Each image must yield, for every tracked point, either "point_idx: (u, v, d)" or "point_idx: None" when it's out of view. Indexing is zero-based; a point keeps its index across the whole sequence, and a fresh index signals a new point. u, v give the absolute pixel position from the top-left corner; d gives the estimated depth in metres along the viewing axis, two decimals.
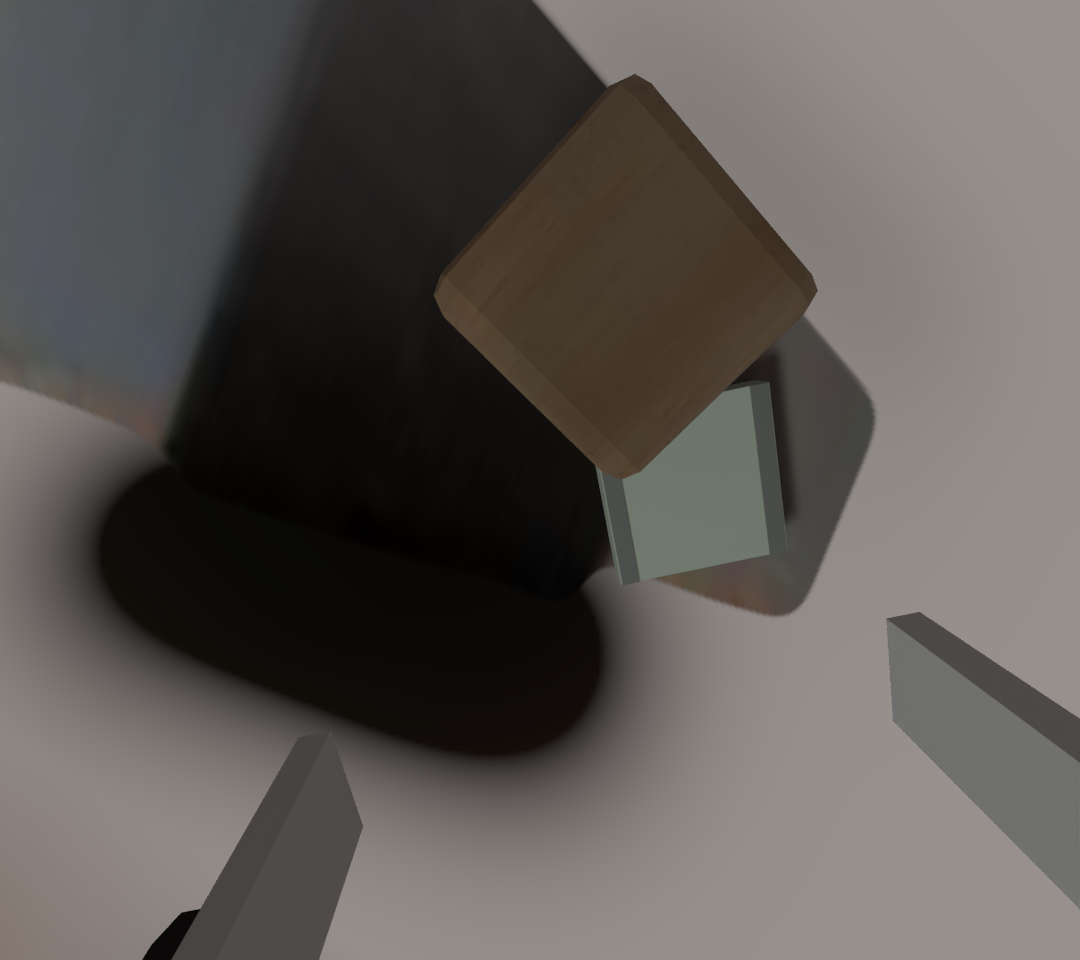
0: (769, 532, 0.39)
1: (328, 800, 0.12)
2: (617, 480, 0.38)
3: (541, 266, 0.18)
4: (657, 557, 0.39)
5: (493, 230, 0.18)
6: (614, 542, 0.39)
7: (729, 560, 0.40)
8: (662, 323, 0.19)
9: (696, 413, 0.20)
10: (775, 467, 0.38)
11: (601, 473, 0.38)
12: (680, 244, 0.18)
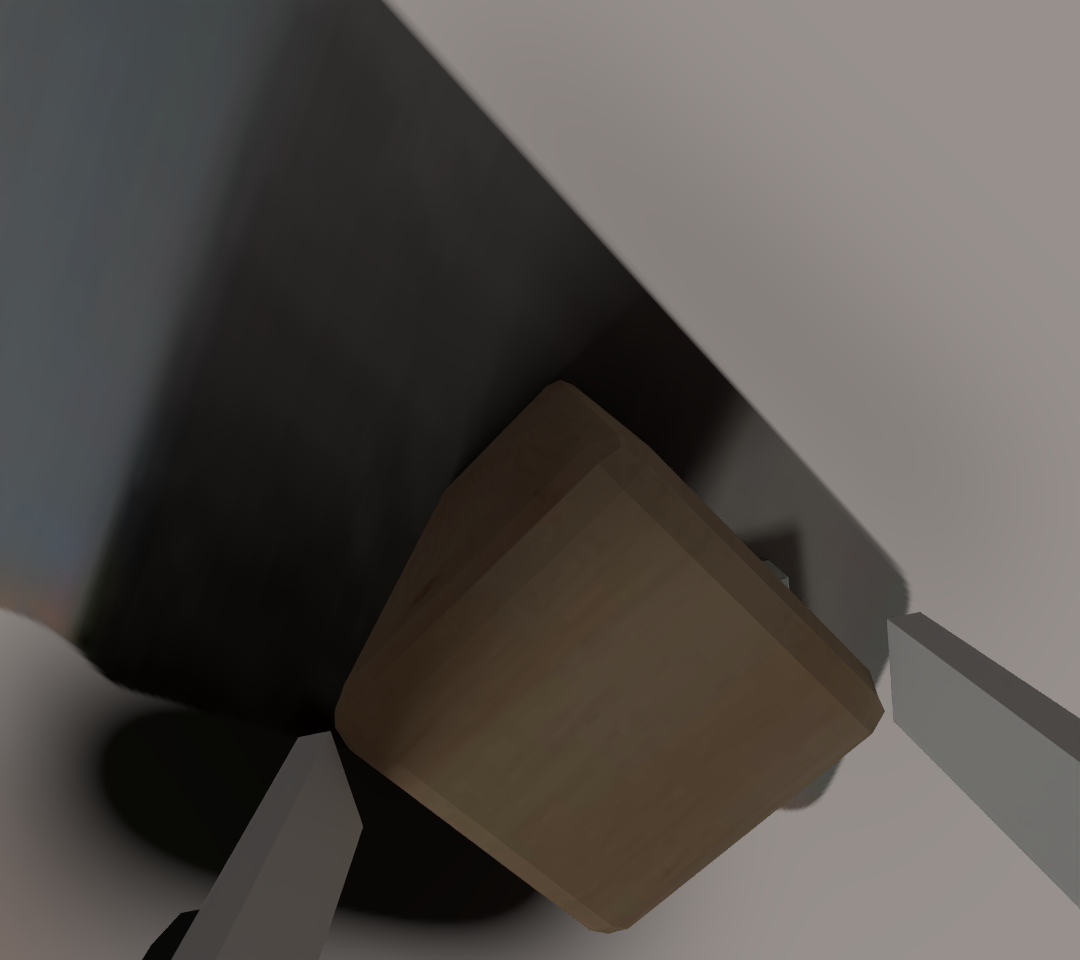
0: None
1: (328, 800, 0.12)
2: None
3: (485, 705, 0.12)
4: None
5: (414, 654, 0.12)
6: None
7: None
8: (661, 769, 0.13)
9: (709, 862, 0.14)
10: None
11: None
12: (688, 673, 0.12)
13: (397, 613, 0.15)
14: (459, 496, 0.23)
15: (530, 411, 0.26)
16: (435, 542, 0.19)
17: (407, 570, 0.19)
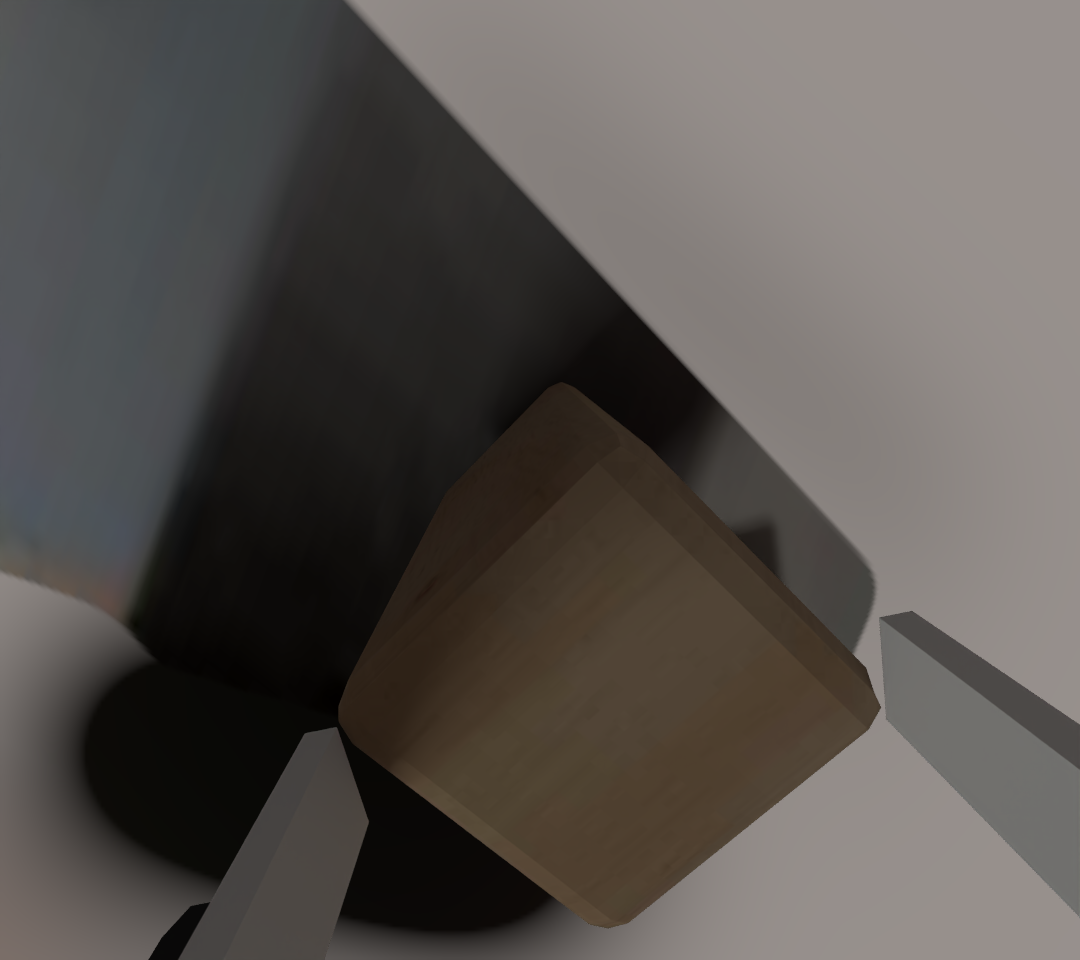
0: None
1: (334, 795, 0.12)
2: None
3: (487, 700, 0.13)
4: None
5: (417, 650, 0.13)
6: None
7: None
8: (661, 764, 0.13)
9: (708, 857, 0.14)
10: None
11: None
12: (687, 669, 0.13)
13: (400, 610, 0.15)
14: (461, 497, 0.24)
15: (531, 413, 0.27)
16: (437, 541, 0.19)
17: (409, 569, 0.19)
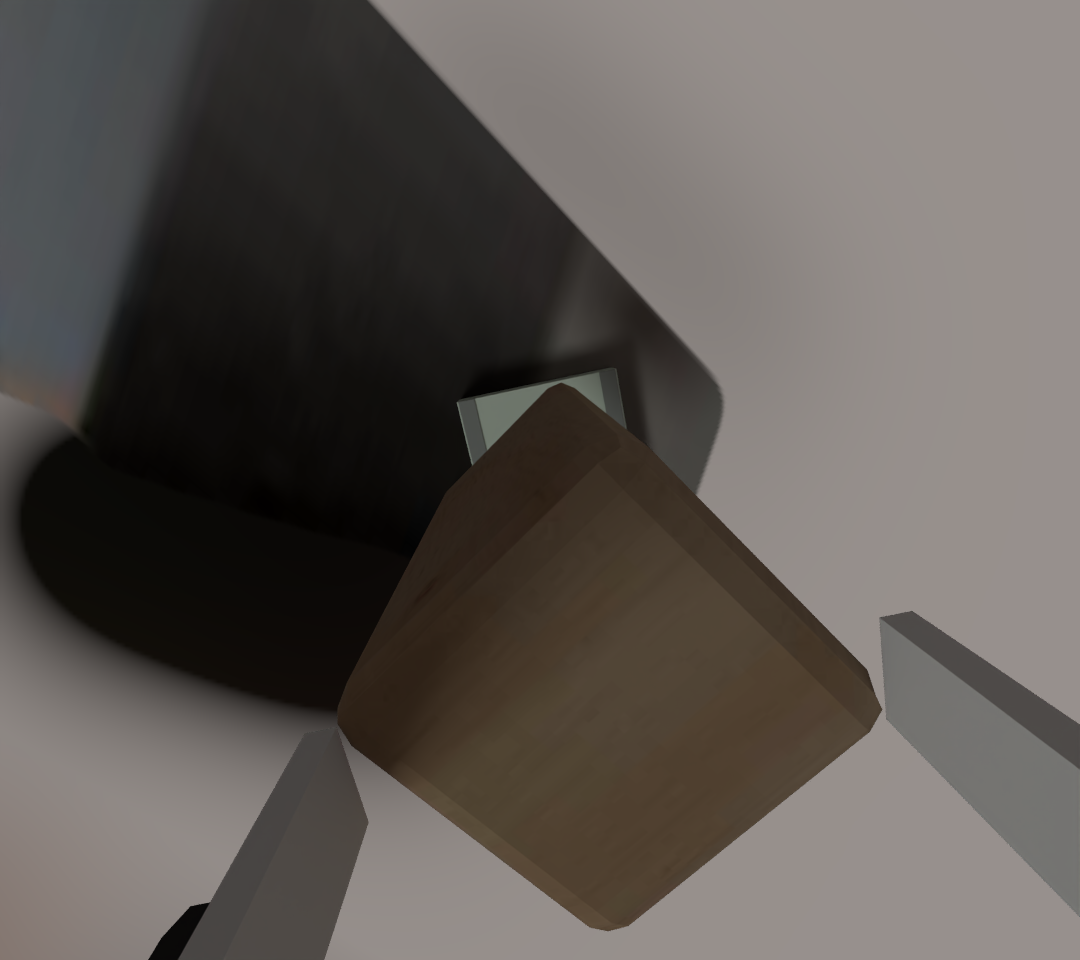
0: None
1: (334, 795, 0.12)
2: None
3: (486, 702, 0.13)
4: None
5: (416, 652, 0.12)
6: None
7: None
8: (661, 766, 0.13)
9: (708, 859, 0.14)
10: None
11: (469, 450, 0.42)
12: (687, 671, 0.13)
13: (399, 612, 0.15)
14: (460, 497, 0.24)
15: (531, 413, 0.27)
16: (437, 542, 0.19)
17: (409, 570, 0.19)
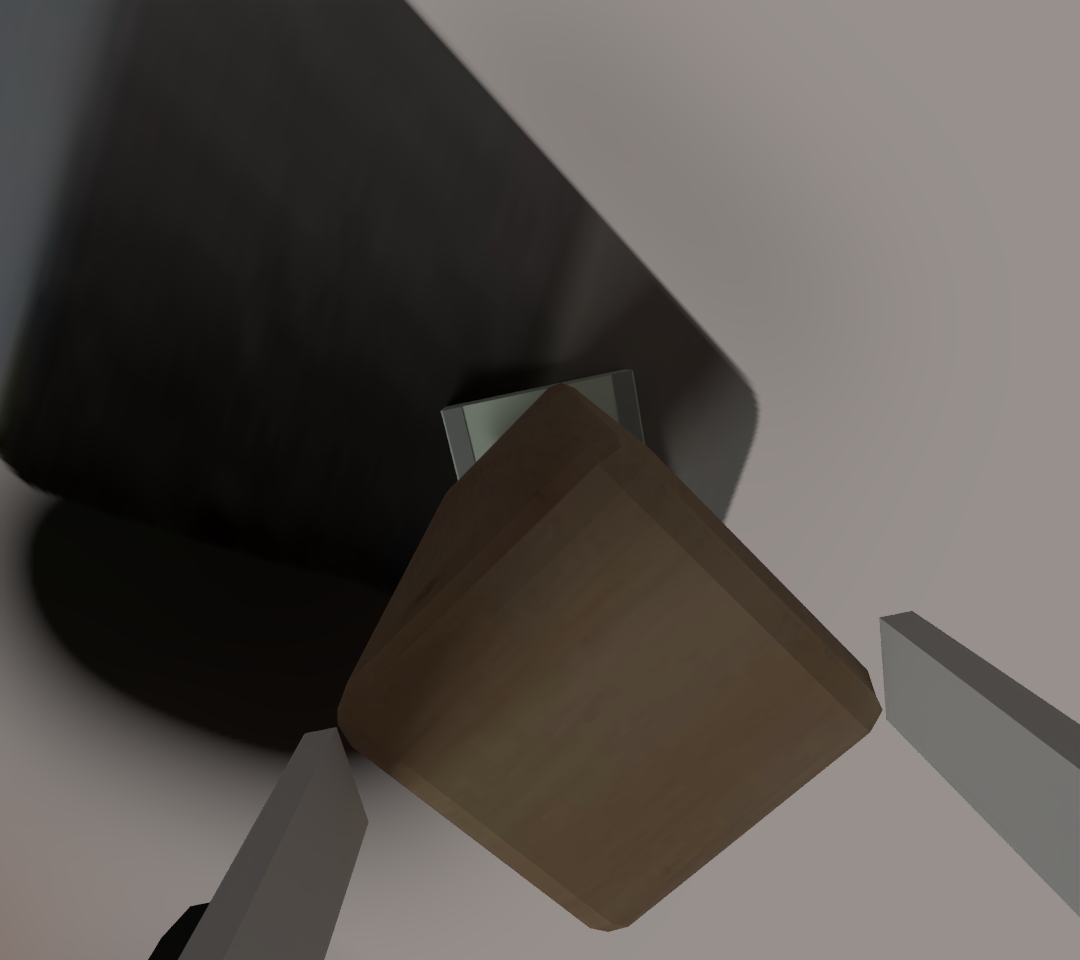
0: None
1: (334, 796, 0.12)
2: None
3: (487, 702, 0.13)
4: None
5: (416, 653, 0.12)
6: None
7: None
8: (661, 767, 0.13)
9: (708, 860, 0.14)
10: None
11: (456, 468, 0.35)
12: (688, 672, 0.13)
13: (399, 612, 0.15)
14: (461, 498, 0.24)
15: (531, 413, 0.27)
16: (437, 543, 0.19)
17: (409, 571, 0.19)
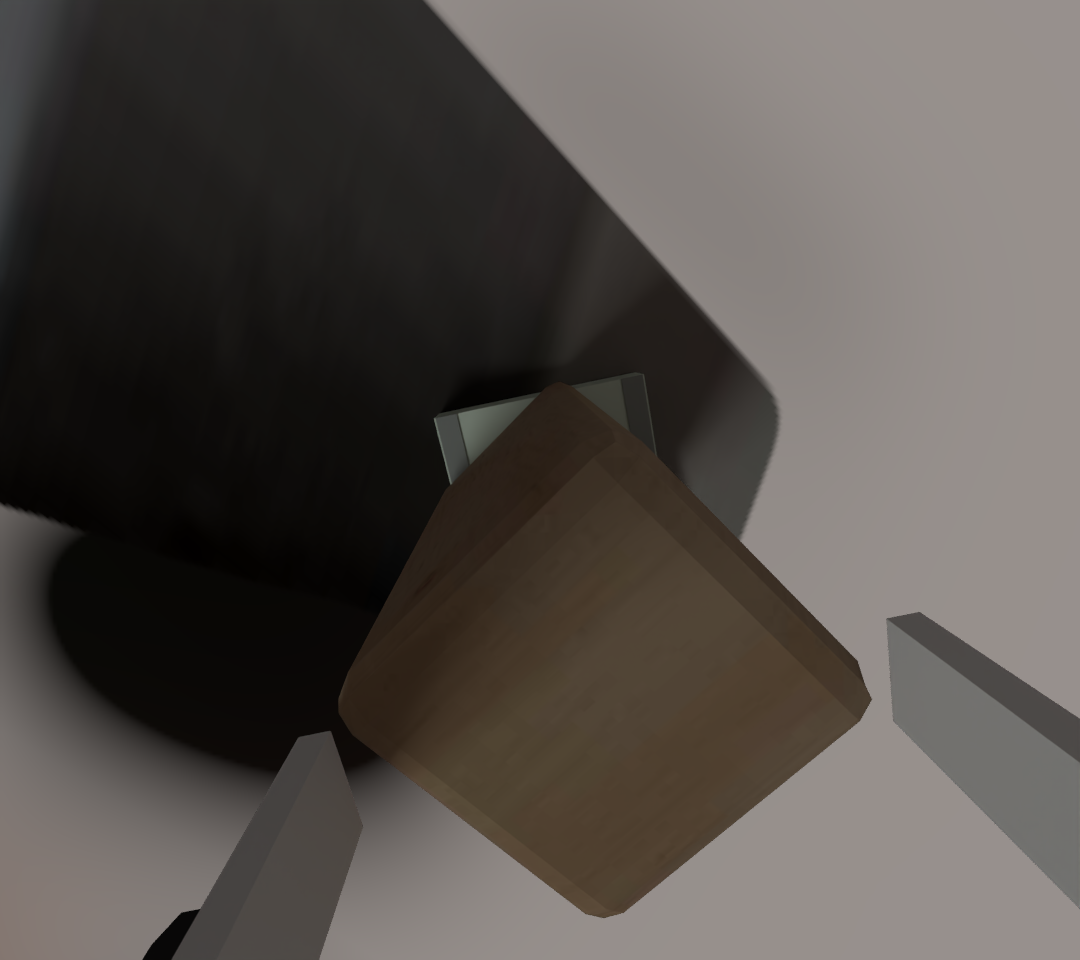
0: None
1: (328, 800, 0.12)
2: None
3: (484, 691, 0.13)
4: None
5: (415, 642, 0.13)
6: None
7: None
8: (655, 755, 0.13)
9: (702, 847, 0.14)
10: None
11: (451, 481, 0.32)
12: (681, 661, 0.13)
13: (399, 605, 0.15)
14: (459, 494, 0.24)
15: (529, 411, 0.27)
16: (436, 538, 0.19)
17: (408, 565, 0.20)
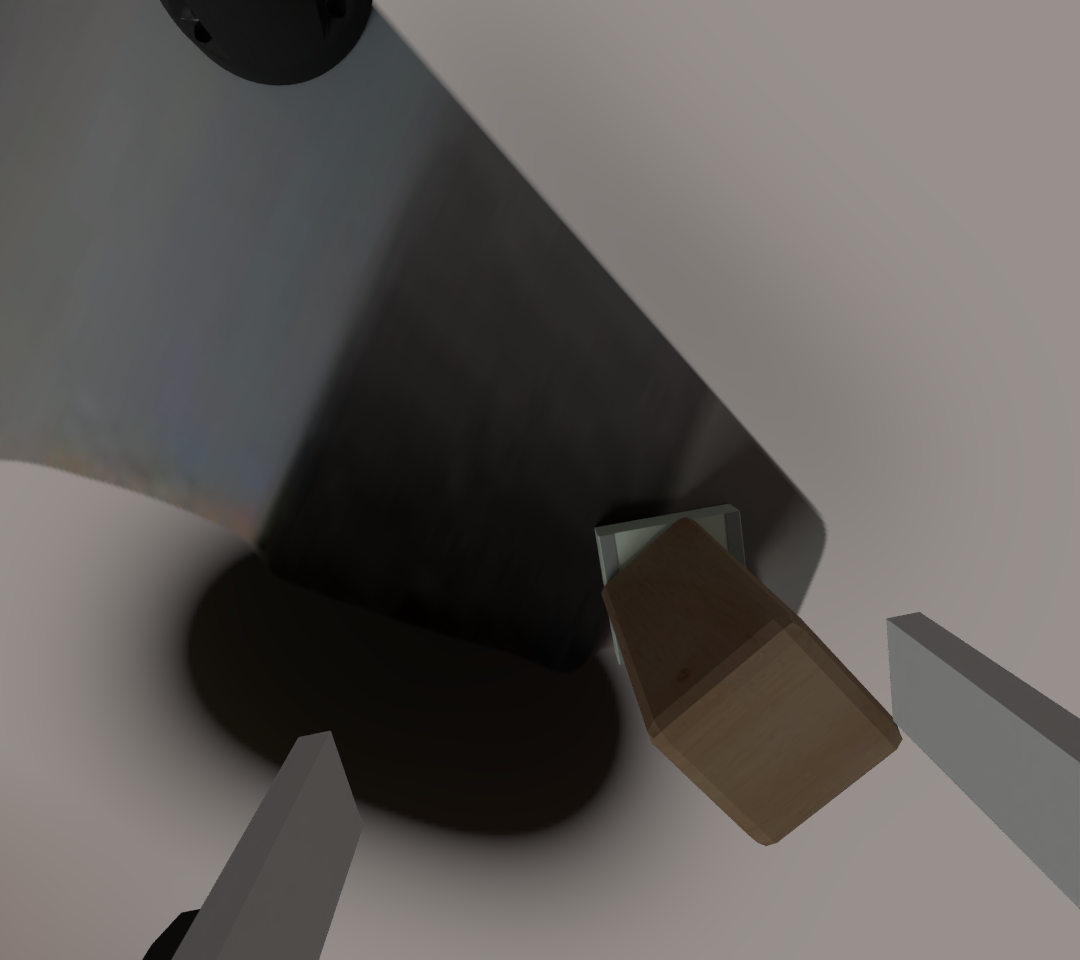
0: None
1: (328, 800, 0.12)
2: None
3: (726, 731, 0.28)
4: None
5: (695, 707, 0.28)
6: None
7: None
8: (801, 763, 0.29)
9: None
10: None
11: (605, 577, 0.48)
12: (816, 719, 0.28)
13: (665, 684, 0.30)
14: (644, 603, 0.39)
15: (676, 544, 0.42)
16: (654, 639, 0.35)
17: (637, 654, 0.35)
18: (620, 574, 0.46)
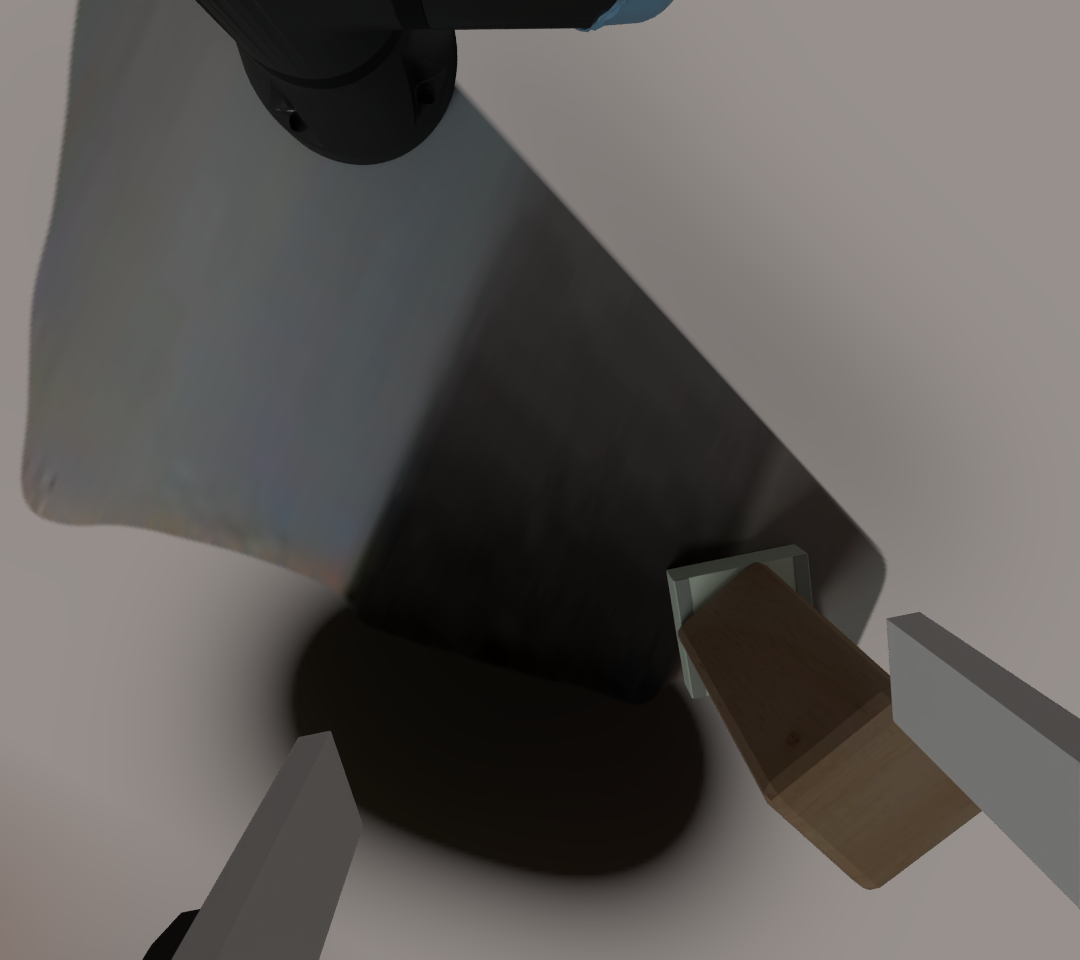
0: None
1: (328, 800, 0.12)
2: None
3: (838, 793, 0.31)
4: None
5: (811, 773, 0.31)
6: (688, 668, 0.51)
7: None
8: (905, 818, 0.31)
9: (918, 857, 0.32)
10: None
11: (680, 618, 0.50)
12: (921, 780, 0.31)
13: (774, 746, 0.33)
14: (731, 654, 0.42)
15: (755, 593, 0.45)
16: (751, 695, 0.37)
17: (735, 709, 0.38)
18: (696, 617, 0.48)
